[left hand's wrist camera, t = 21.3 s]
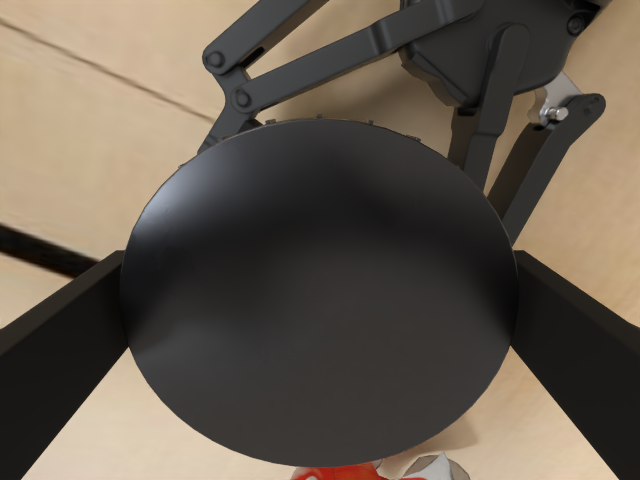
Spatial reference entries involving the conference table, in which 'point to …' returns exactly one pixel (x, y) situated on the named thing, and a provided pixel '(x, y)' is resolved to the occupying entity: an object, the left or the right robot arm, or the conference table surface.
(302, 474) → the fish
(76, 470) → the conference table surface
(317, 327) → the lid
